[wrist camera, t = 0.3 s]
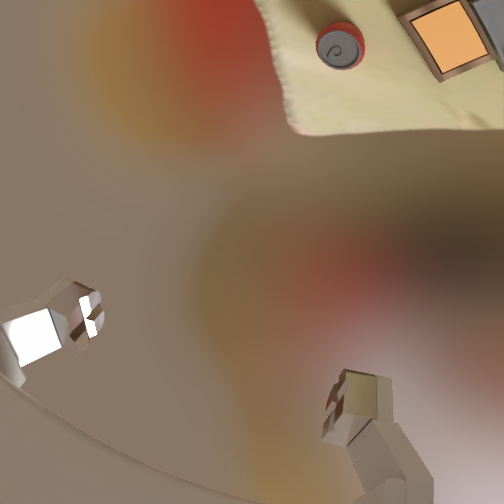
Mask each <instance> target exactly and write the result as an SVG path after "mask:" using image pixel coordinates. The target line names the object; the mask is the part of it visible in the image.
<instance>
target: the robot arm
mask: <svg viewBox="0 0 504 504" xmlns="http://www.w3.org/2000/svg"><path fill="white" fill-rule="evenodd" d="M100 302H101V296H100V292H98V291H96V290H94V289H92V288H89V287H87V286H85V285H83V284H81V283H79V282H77V281H74V280H72V279H70V278H68V277H65V278H62V279H61V280H60V281H58V282H57V283H56V284H55V285H54V286H53V287H52V288H51V289H49V290H48V291H47V292H46V293H45V294H44V295H42V297H40V298H39V299H38V300H37V301H34V300H32V301H29V302H25V303H22V304H19V305H16V306H13V307H9V308H6V309H3V310H0V504H264V503H259V502H255V501H251V500H247V499H244V498H239V497H236V496H232V495H229V494H226V493H222V492H219V491H216V490H213V489H210V488H207V487H204V486H201V485H198V484H195V483H192V482H189V481H187V480H184V479H181V478H179V477H176V476H173V475H171V474H169V473H166V472H164V471H161V470H159V469H157V468H154V467H152V466H150V465H148V464H145V463H143V462H141V461H139V460H137V459H134V458H132V457H130V456H128V455H126V454H124V453H122V452H120V451H118V450H116V449H114V448H112V447H111V446H108V445H107V444H105V443H103V442H101V441H99V440H98V439H96V438H94V437H92V436H91V435H89V434H87V433H85V432H84V431H82V430H80V429H79V428H77V427H75V426H74V425H72V424H71V423H69V422H67V421H66V420H64V419H63V418H61V417H60V416H58V415H57V414H55V413H53V412H52V411H51V410H49V409H48V408H46V407H45V406H43V405H42V404H41V403H39V402H38V401H37V400H35V399H34V398H32V397H31V396H29V395H28V394H27V393H26V392H24V391H23V390H21V389H20V386H21V385H22V384H23V383H24V381H25V380H26V375H25V373H24V372H23V370H22V368H21V367H22V366H24V365H26V364H28V363H30V362H32V361H34V360H36V359H38V358H40V357H42V356H44V355H46V354H48V353H51V352H53V351H55V350H57V349H59V348H60V347H62V346H63V347H65V348H67V349H68V350H71V351H72V352H74V353H76V354H78V355H80V353H81V352H82V351H83V350H84V349H85V347H86V346H87V345H88V344H89V343H90V337H91V336H94V335H96V334H97V333H98V332H99V330H101V328H102V326H103V323H104V317H105V315H104V310H103V308H102V307H101V306H100V304H99V303H100ZM325 412H326V414H327V416H328V418H327V419H326V421H325V422H324V424H323V431H322V437H321V442H326V443H330V444H335V445H340V446H346V449H347V451H348V454H349V456H350V459H351V461H352V463H353V466H354V468H355V470H356V473H357V475H358V477H359V480H360V482H361V484H362V487H363V489H364V492H365V494H364V495H362V496H360V497H359V498H357V499H355V500H354V501H352V502H350V503H349V504H433V498H434V496H433V495H434V485H433V484H434V482H433V481H434V480H433V477H432V475H431V474H430V472H429V471H428V469H427V468H426V466H425V464H424V463H423V461H422V460H421V458H420V457H419V455H418V454H417V452H416V451H415V449H414V447H413V446H412V444H411V443H410V441H409V440H408V438H407V437H406V435H405V433H404V432H403V430H402V429H401V427H400V426H399V424H398V423H395V422H393V395H392V380H391V378H388V377H383V376H378V375H373V374H369V373H363V372H358V371H353V370H349V369H343V370H342V372H341V374H340V375H339V381H338V383H336V384H334V386H333V387H332V389H331V392H330V394H329V397H328V400H327V405H326V410H325Z"/></svg>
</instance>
